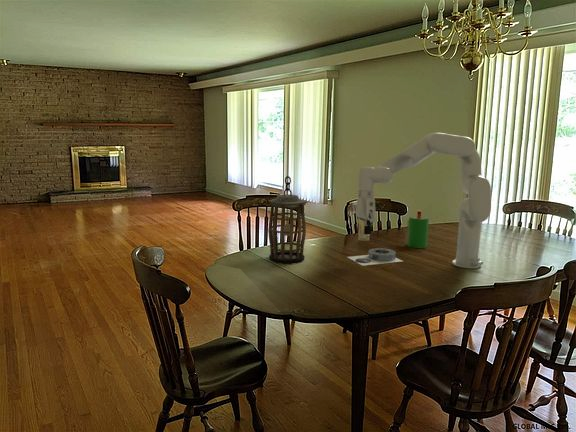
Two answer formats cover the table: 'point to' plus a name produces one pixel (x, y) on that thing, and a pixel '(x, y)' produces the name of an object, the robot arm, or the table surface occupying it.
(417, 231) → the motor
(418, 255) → the table surface
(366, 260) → the base plate
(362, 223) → the brass round-ended cylinder
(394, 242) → the table surface
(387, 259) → the ring
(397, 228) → the table surface
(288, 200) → the lantern
